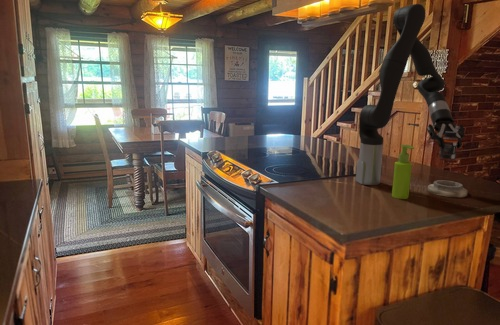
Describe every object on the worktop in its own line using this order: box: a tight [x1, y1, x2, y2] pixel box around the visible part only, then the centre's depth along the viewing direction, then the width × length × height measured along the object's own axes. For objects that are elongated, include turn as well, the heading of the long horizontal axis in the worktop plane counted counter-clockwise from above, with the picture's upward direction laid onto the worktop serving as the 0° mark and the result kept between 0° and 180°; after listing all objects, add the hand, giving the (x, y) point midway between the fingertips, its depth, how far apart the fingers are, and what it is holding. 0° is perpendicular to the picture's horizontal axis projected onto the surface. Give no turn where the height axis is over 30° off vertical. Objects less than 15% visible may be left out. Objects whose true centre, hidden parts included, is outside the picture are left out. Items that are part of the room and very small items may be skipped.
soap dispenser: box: [391, 144, 415, 200], centre depth 138 cm, size 6×7×20 cm
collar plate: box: [427, 179, 469, 198], centre depth 147 cm, size 14×14×4 cm
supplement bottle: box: [438, 131, 458, 162], centre depth 147 cm, size 6×6×11 cm
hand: (451, 147), depth 145 cm, fingers closed on supplement bottle, 6 cm apart
